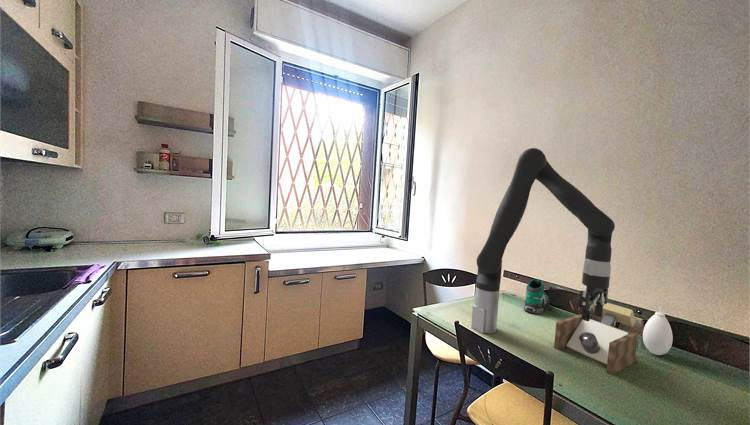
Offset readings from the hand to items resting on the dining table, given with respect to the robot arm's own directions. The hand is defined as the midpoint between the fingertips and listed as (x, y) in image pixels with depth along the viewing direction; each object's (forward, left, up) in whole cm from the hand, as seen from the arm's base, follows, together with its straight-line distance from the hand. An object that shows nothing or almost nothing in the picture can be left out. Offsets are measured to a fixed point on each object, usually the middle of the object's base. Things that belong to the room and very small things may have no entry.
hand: (591, 318), depth 102 cm
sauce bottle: (+27, -10, -14) cm, 32 cm away
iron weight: (+2, 0, -11) cm, 11 cm away
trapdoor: (+10, 0, -9) cm, 13 cm away
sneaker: (+28, +36, -14) cm, 48 cm away
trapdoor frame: (+4, 0, -14) cm, 15 cm away
